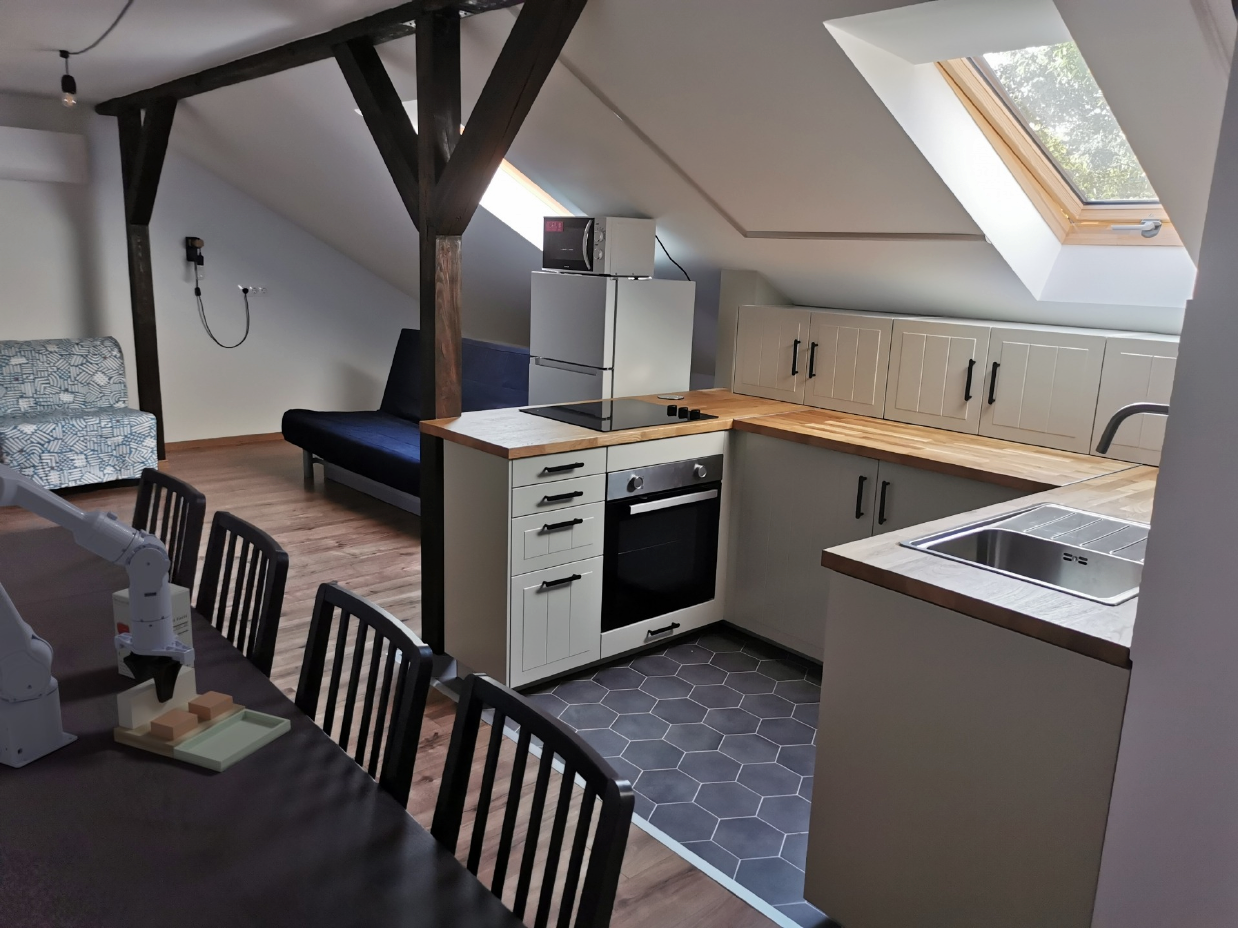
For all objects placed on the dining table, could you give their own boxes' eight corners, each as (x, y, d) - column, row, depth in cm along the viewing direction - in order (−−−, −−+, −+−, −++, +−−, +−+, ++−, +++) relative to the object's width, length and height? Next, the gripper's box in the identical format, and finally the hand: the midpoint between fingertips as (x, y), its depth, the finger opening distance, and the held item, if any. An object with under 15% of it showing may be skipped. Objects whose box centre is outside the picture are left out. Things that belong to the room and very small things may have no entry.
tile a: (173, 739, 138) (172, 727, 138) (151, 733, 140) (150, 721, 139) (198, 726, 142) (197, 714, 142) (175, 720, 144) (174, 708, 144)
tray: (221, 771, 134) (220, 761, 133) (174, 758, 137) (173, 748, 137) (290, 729, 146) (290, 719, 146) (245, 717, 150) (245, 708, 149)
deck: (174, 758, 137) (173, 745, 137) (114, 740, 141) (113, 728, 141) (245, 717, 150) (245, 706, 149) (189, 703, 154) (188, 691, 154)
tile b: (210, 719, 145) (210, 707, 144) (188, 714, 146) (188, 702, 146) (233, 707, 149) (232, 696, 148) (211, 702, 150) (210, 690, 150)
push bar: (133, 729, 141) (130, 698, 140) (119, 725, 142) (116, 694, 141) (196, 697, 152) (194, 668, 151) (183, 693, 153) (181, 665, 152)
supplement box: (116, 674, 164) (109, 592, 161) (162, 656, 172) (156, 578, 169) (150, 685, 160) (144, 602, 157) (196, 667, 168) (190, 587, 165)
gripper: (208, 614, 145) (213, 696, 147) (138, 599, 150) (145, 679, 153) (170, 629, 138) (177, 715, 141) (99, 614, 144) (107, 696, 146)
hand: (157, 697), depth 146 cm, fingers closed on push bar, 3 cm apart
